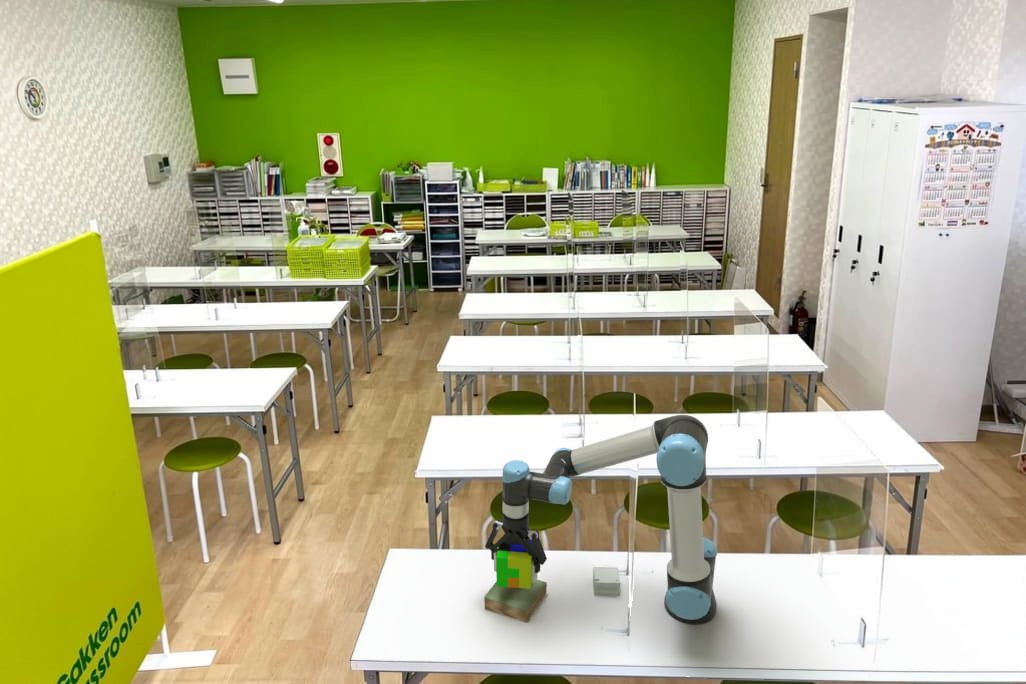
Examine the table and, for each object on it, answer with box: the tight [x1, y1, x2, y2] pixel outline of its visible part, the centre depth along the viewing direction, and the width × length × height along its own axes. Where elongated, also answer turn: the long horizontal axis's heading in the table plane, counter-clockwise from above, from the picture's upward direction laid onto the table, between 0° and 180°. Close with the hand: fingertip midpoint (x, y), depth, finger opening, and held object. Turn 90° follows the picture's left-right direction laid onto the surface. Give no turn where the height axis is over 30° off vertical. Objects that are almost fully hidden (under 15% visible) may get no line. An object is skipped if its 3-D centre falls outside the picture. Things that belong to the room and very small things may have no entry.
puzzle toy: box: [495, 538, 533, 589], centre depth 226 cm, size 10×10×10 cm
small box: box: [592, 566, 621, 597], centre depth 236 cm, size 8×8×5 cm
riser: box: [483, 578, 548, 624], centre depth 230 cm, size 14×14×4 cm
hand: (515, 574), depth 228 cm, fingers closed on puzzle toy, 12 cm apart
